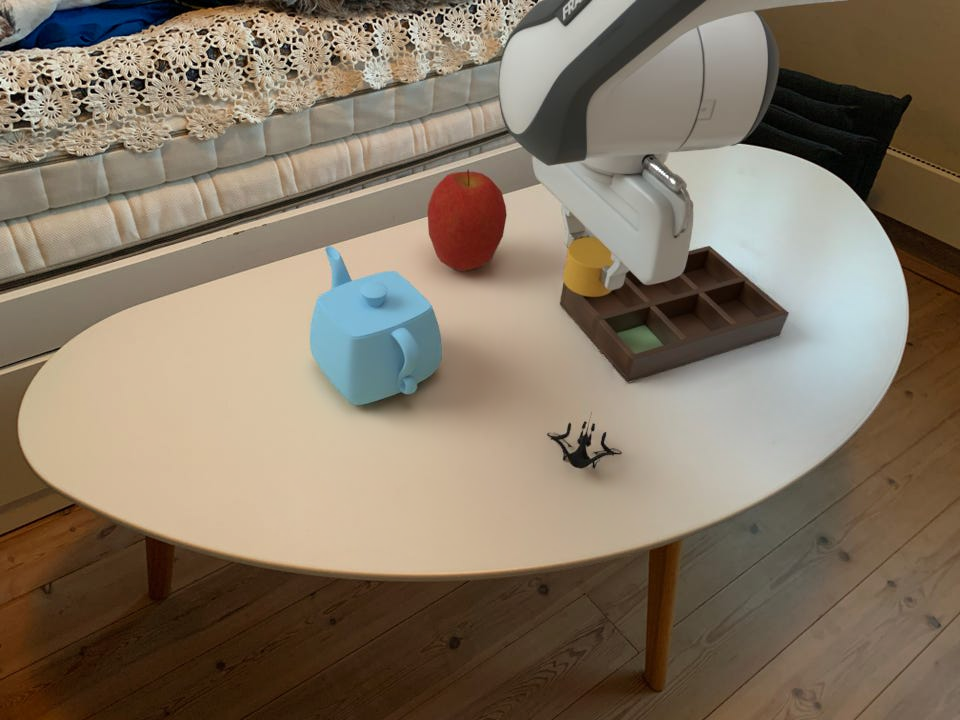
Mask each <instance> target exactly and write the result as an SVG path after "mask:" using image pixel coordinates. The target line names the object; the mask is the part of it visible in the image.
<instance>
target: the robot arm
mask: <svg viewBox="0 0 960 720" xmlns="http://www.w3.org/2000/svg"><path fill="white" fill-rule="evenodd" d="M844 1H847V0H540V1H538V2H537V3H536V4H535V5H534V6H533V7H532V8H531V9H530V10H529V11H528V12H526V14H525V15H524V16H523V17H522V18H521V20H519V22H518V23H517V24H516V26H515V27H514V29H513V30H512V31H511V33H510V34H509V36H508V37H507V40H506V42H505V44H504V47H503V50H502V53H501V58H500V63H499V69H498V70H499V71H498V102H499V103H498V104H499V109H500V113H501V118H502V121H503V124H504V126H505V128H506V130H507V132H508V133H509V134H510V136H512V138H513V139H514V140H515V141H516V142H517V143H518V144H519V145H520V146H521V147H522V148H523V149H524V150H525V151H526V152H528V153H529V154H531V156H532V157H531V164H532V168H533V173H534V176H535V179H536V180H537V181H538V182H539V183H540V184H541V185H543V187H544V188H546V190H547V191H549V192H550V193H551V195H553V197H555V199H557V200H558V202H560V203H561V215H562V220H563V224H564V230H565V236H564V241H563V243H564V245H565V247H567V248H568V247H569V245H570V244H571V243H572V242H573V241H574V240H576V239H580V238H584V237H589V234H588V233H587V232H586V231H585V227H586V228H587V229H588V230H589V231H590V232H591V233H592V234H593V235H594V236H595V237H596V238H597V239H598V240H599V241H600V242H601V243H602V244H603V245H604V246H605V247H606V248H607V249H609V250H610V251H611V252H612V254H611V260H612V261H613V262H614V264H612V265H611V266H605V267H602V268H601V272H600V274H601V276H600V277H599V281H600V282H601V283H602V284H603V285H604V286H605V287H606V288H607V289H608V290H609V291H611V290H614V289H618V288H620V287H622V286H623V284H624V280H625V276H626V273H627V272H628V271H629V270H630V271H631V272H632V273H633V274H634V275H635V276H636V277H637V278H638V279H639V280H640V281H641V282H642V283H643V284H645V285H652V284H656V283H661V282H665V281H668V280H671V279H674V278H676V277H678V276H679V275H681V274H682V273H683V271H684V269H685V266H686V262H687V257H688V253H689V251H690V246H691V240H692V235H693V228H694V202H693V200H692V199H691V196H690V193H689V192H688V190H687V187H688V185H687V182H686V181H685V180H684V179H683V177H681V176H680V175H678V174H676V173H674V172H673V171H672V170H671V169H669V168H668V166H667V165H666V164H665V163H666V161H667V159H668V157H669V154H670V153H681V152H683V153H684V152H696V151H707V150H717V149H722V148H726V147H733V146H734V147H735V146H737V145H739V144H741V143H742V142H743V141H745V140H746V139H747V138H748V137H749V136H750V135H751V134H752V133H753V132H754V131H755V130H756V129H757V128H758V126H759V125H760V123H761V122H762V121H763V119H764V117H765V115H766V113H767V111H768V109H769V106H770V104H771V102H772V99H773V96H774V94H775V91H776V86H777V82H778V79H779V77H778V76H779V71H780V51H779V47H778V44H777V40H776V38H775V36H774V34H773V32H772V30H771V28H770V26H769V25H768V24H767V22H766V21H765V19H764V18H763V17H762V16H761V15H760V13H758V12H757V11H762V10H768V9H769V10H770V9H774V8H782V7H792V6H800V5H801V6H802V5H810V4H811V5H812V4H821V3H832V2H833V3H834V2H844Z"/></svg>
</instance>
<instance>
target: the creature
mask: <svg viewBox="0 0 960 720" xmlns="http://www.w3.org/2000/svg"><path fill="white" fill-rule="evenodd" d="M590 414H592V411H591V412H590ZM591 417H592V415H590V417H589V421H588V422H587V421H586V420H585V421H583V423H582V425H581V429H582V431H581V432H580V434H579V437H578V439H577V440H576V441H577V444H578V447H577V448H576V450H574V451H572V452H570V451H569V450H568V448H573V445H571V444H570V443H569V442H567V441H566V440H565V439H566V438H568V437H569V436H570V434H571V431H572V423H571V422H568V424H567V427H566V432H565V433H563V434H558V433H557V432H554V434H555V435H551V434H550V432H547V433H546V435H547V437H549V438H550V441H554V442H555V443H557V444H558V445H559V446H560V448H561V451H562V453H563V457H562V461H565V460H567V459H568V462H569V464H570V465H571V466H572V467H574V468H575V469H579V470H580V469H585V468H587V467H589V466H590V465H592V469H596V467H597V465H598V463H599V462H600V461H601V458H604V457H607V456H612V457H614V456H620V455H622V451H621V450H619V449H617V448H614V447H613V448H612V447H611V448H610V447H609V446H607V445H606V443H605V441H606V438H607V431H604V432H603V433H602V435H601V439H600V446H601V448H602V450H598V451H593V454H595V456H593V457H592V458H591V457H590V456H589V454H588V450H587V448H589V447H591V446H592V438H593V437H592V436H593V435H592V434H593V432H595V428H596V423H594V422H592V424H591V427H590V426H589V425H590V420H591ZM587 423H588V424H587ZM589 427H590V433H589V435H588V431H589ZM585 429H586V431H585V433H584V430H585ZM561 440H562V441H564V443H566V444H567V446H566V445H565V444H564V443H563V442H562V441H561ZM614 450H616V451H618V452H615V451H614Z"/></svg>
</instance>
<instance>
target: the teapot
mask: <svg viewBox="0 0 960 720" xmlns="http://www.w3.org/2000/svg"><path fill="white" fill-rule="evenodd" d="M325 254H326V257H327V260H328V261H329V266H330V271H331V287H330V288H331V289H329V290H327V291H325V292H324V293H322V294H321V295H319V296H317V298H316V301H315V304H314V307H313V312H312V316H311V322H310V329H309V347H310V351H311V355H312V357H313V359H314V361H315V362H316V364H317V366H318V367H319V369H320V370H321V372H322V373H323V374H324V376H325V377H326V378H327V380H328V382H330V383H331V385H332V386H333V387H334V388H335V389H336V390H337V391H338V393H339V394H340V395H341V396H342V397H343V398H344V399H345V400H346V401H347V402H348V403H349V404H351V405H354V406H360V405H361V406H362V405H368V404H371V403H374V402H377V401H380V400H383V399H386V398H390V397H392V396H396V395H398V394H400V393H402V394H404V395H412V394H414V393H415V392H416V391H417V389H418V384H419V383H421V382H423V381H425V380H426V379H428V378H429V377H431V376H432V375H433V374H434V373H436V372H437V370H438V368H439V366H440V365H441V362H442V359H443V342H442V334H441V330H440V325H439V322H438V319H437V316H436V313H435V310H434V308H433V305H432V304H431V302H430V301H429V300H428V299H427V298H426V296H424V295H423V294H422V293H421V292H420V291H419V289H417V288H416V287H415V286H414V285H413V284H412V283H411V282H410V281H408V280H407V279H406V277H404V276H403V275H401V274H400V273H399V272H398V271H395V270H387V271H381V272H376V273H373V274H369V275H365V276H362V277H359V278H356V279H354V280H352V278H351V275H350V273H349V271H348V269H347V266H346V264H345V261H344V259H343V258H342V255H341V253H340V252H339V251H338V250H337V249H336V248H335V247H333V246H332V245H328V246H325Z"/></svg>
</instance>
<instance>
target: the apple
mask: <svg viewBox="0 0 960 720" xmlns="http://www.w3.org/2000/svg"><path fill="white" fill-rule="evenodd" d="M503 195H504V194H503V192H502V190H501V189H500V188H499V187H498V186H497V185H496V183H495V182H494V181H493V179H491V178H490V177H489V176H487V175H486V174H485V173H481V172H476V171H469V169H468V168H467V170H466V171H458V172H452V173H448V174H446V176H444V178H443V179H441V180H440V181H439V182H438V184H437V185H436V186H435V187H434V188H433V191H432V193H431V195H430V199H429V201H428V205H427V226H428V235H429V238H430V241H431V244H432V246H433V249H434V252H435V255H436V257H437V258H438V260H439V261H440V263H442V264H444V265H445V266H446V267H449V268H451V269H454V270H456V271H461V272H463V271H470V270H473V269H476V268H479V267H482V266H483V265H486V264H487V263H489V262H491V260H492V258H493V257H494V255H495V253H496V251H497V249H498V248H499V245H500V243H501V241H502V239H503V238H504V233H505V227H506V222H507V216H508V214H507V206H506V202H505V199H504V196H503Z"/></svg>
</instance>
